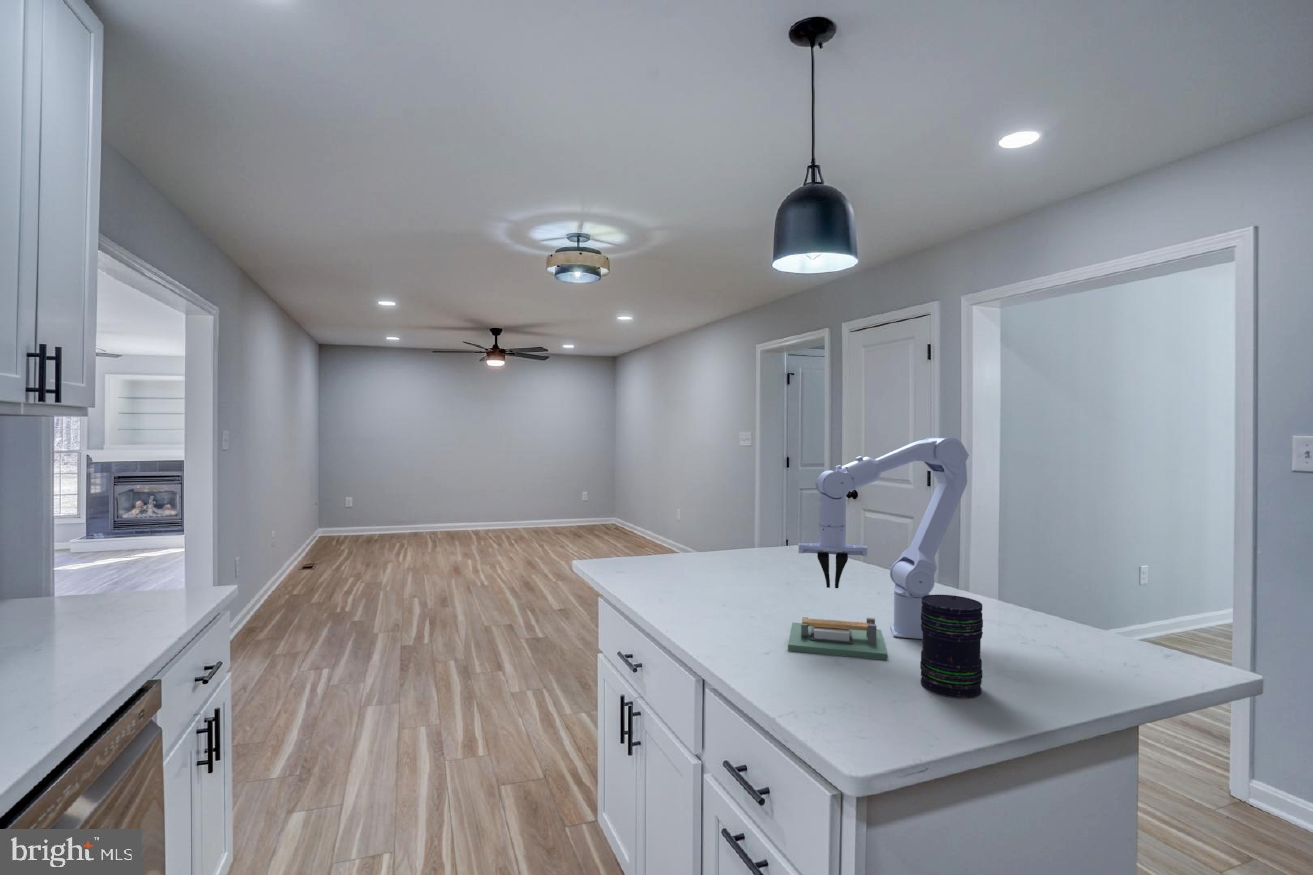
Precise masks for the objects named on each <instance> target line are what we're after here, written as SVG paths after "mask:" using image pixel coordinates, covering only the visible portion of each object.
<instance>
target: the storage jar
mask: <svg viewBox="0 0 1313 875" xmlns="http://www.w3.org/2000/svg"><path fill="white" fill-rule="evenodd" d="M921 611H922V612H921V630H922V632H923V639H922V650H921V651H920V661H919V665H920V666H919V668H920V676H921V678H920V684H921V687H923V688H924V689H925V690H927V691H928V692H931V694H936V695H939V696H942V697H946V698H952V699H960V700H961V699H962V700H963V699H964V700H965V699H975V698H978V697H980V696H981V695H982V692H983V691H982V690H983V689H982V687H981V686H982V680H983V661H982V660H983V659H982V658H981V647H982V646H981V643H982V642H981V641H982V639H983V635H984V634H983V633H984V632H983V627H984V620H983V612H982V611H983V603H981V602H980V601H979V600H976V599H974V598H969V597H965V596H960V595H952V594H930V595H927V596H924V597H922V607H921Z"/></svg>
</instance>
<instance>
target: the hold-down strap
mask: <svg viewBox="0 0 1313 875" xmlns="http://www.w3.org/2000/svg"><path fill="white" fill-rule="evenodd" d="M801 623H804V624H807V626H811V627H825V628H838V629H851V630H864V631H868V624H873V623H872V622H869V623H867V622H863V621H861V622H860V621H850V620H849V621H848V620H847V621H845V620H835V619H834V620H833V619H822V618H821V619H820V618H809V617H808V618H803V619H801Z"/></svg>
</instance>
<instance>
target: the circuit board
mask: <svg viewBox="0 0 1313 875" xmlns="http://www.w3.org/2000/svg"><path fill="white" fill-rule="evenodd" d="M801 618H802V619H803V618H808V619H809V617H807V616H806V617H805V616H802V617H801ZM802 619H801V620H802ZM869 622H872V623H873V624H868V631H864V630H851V629H838V628H825V627H811V626H807V624H804V623H802V622H792V623H791V628H790V634H789V639H788V644H787V651H789V652H798V653H799V652H800V653H810V654H820V655H828V656H829V655H831V656H840V657H841V656H842V657H851V658H863V659H870V660H871V659H872V660H883V661H887V660H888V651H887V648H886V642H885V639H884V636H883V632H882V629H877V627H878V626H877V624H876V618H875V617H866V623H869Z"/></svg>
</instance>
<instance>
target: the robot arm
mask: <svg viewBox="0 0 1313 875" xmlns="http://www.w3.org/2000/svg"><path fill="white" fill-rule="evenodd" d="M969 456H970V455H969V453H968V451H967V449H966V447H965V446H964V443H963V442H962V441H960V439H958V438H956V437H952V436H950V437H935V436H934V437H933V436H931V437H927V438H925V439H921V440H917V441H914V442H911V443H909V444H907V445H906V444H905V445H904V446H902V447H900V448H897V449H895V450H893V451H891V452H888V453H886V454H884V455H881V456H879V457H877V458H875V459H874V458H872V457H869V456H865V457H863V456H861V455H859V456H857V457H855V460H854V461H852V462H849V463H847V464H845V465H841V464H838V465H836V466H835V470H825V471H823V472H822V473H820V475H819V476H817V480H816V482H815V488H816V490H817V491H818V493H819V504H818V507H819V508H818V537H819V538H818V542H814V543H813V542H811V543H810V542H809V543H807V542H806V543H805V542H804V543H803V542H802V543H801V542H799V543H798V554H817V559H818V562H819V564H820V566H821V569H822V571H823V575H824V579H825V584H826V589H828V588H829V589H830V588H831V580H830V555H835V573H834V574H835V575H834V577H835V578H834V589H839V586H840V580H841V576H842V574H843V571H844V569H845V567H846V564H847V563H848V559H849V556H862V557H868V546H867V545H857V544H847V503H846V502H847V501H846V498H847V496H848V494H849V492H851V491H855V490H856V489H857V490H858V489H859V488H861V487H862V488H863V487H864V486H867V485H869V484H872V483H874V482H877V481H878V480H879V478H880V477H881V476H880V475H881V474H882V473H884V472H887V471H890V470H892V469H896V468H898V467H901V466H904V465H907V464H910V463H913V462H923V463H924V464H925V466H927V467H928V468H929V469H930V470H931V471H932V473H933V474H934V475H933V476H934V477H935V478H936V480H937V485H936V487H935V489H934V492H933V493H932V494H933V495H932V496H931V498H930V500H929V504H928V506H927V508H926V511H925V512H924V515H923V517H922V519H921V521H920V523H919V526H918V528H917V531H916V533H915V535H914V536H913V539H912V541H911V544H910V546H909V547H907V548H906V549H905V550H903V551H902V553H901V555H900V557H899V558H898V559H897V560H896V561H894V562H893V564H892V565H891V567H890V570H889V576H890V577H889V578H890V579H891V581H892V582H893V583H894V589H893V592H894V593H893V624H890V626H889V627H890V629H891V632H892V635H893V637H895V638H906V639H918V640H923V632H922V630H921V612H922V611H921V607H922V597H924V596H927V595H931V594H930V593H931V592H932V590H933V589H934V587H935V574H936V571H937V569H938V566H937V562H936V554H937V553H938V550H939V549H940V547H941V544H942V542H943V539H944V537H945V534H946V533H947V530H948V529H949V528H948V527H949V526H950V523H951V521H952V518H953V517H954V515H955V512H956V510H957V507H958V506H959V504H960V501H961V499H962V497H963V494H964V492H965V490H966V487H967V484H968V473H967V472H968V470H967V469H968V468H967V461H968V458H969Z"/></svg>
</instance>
